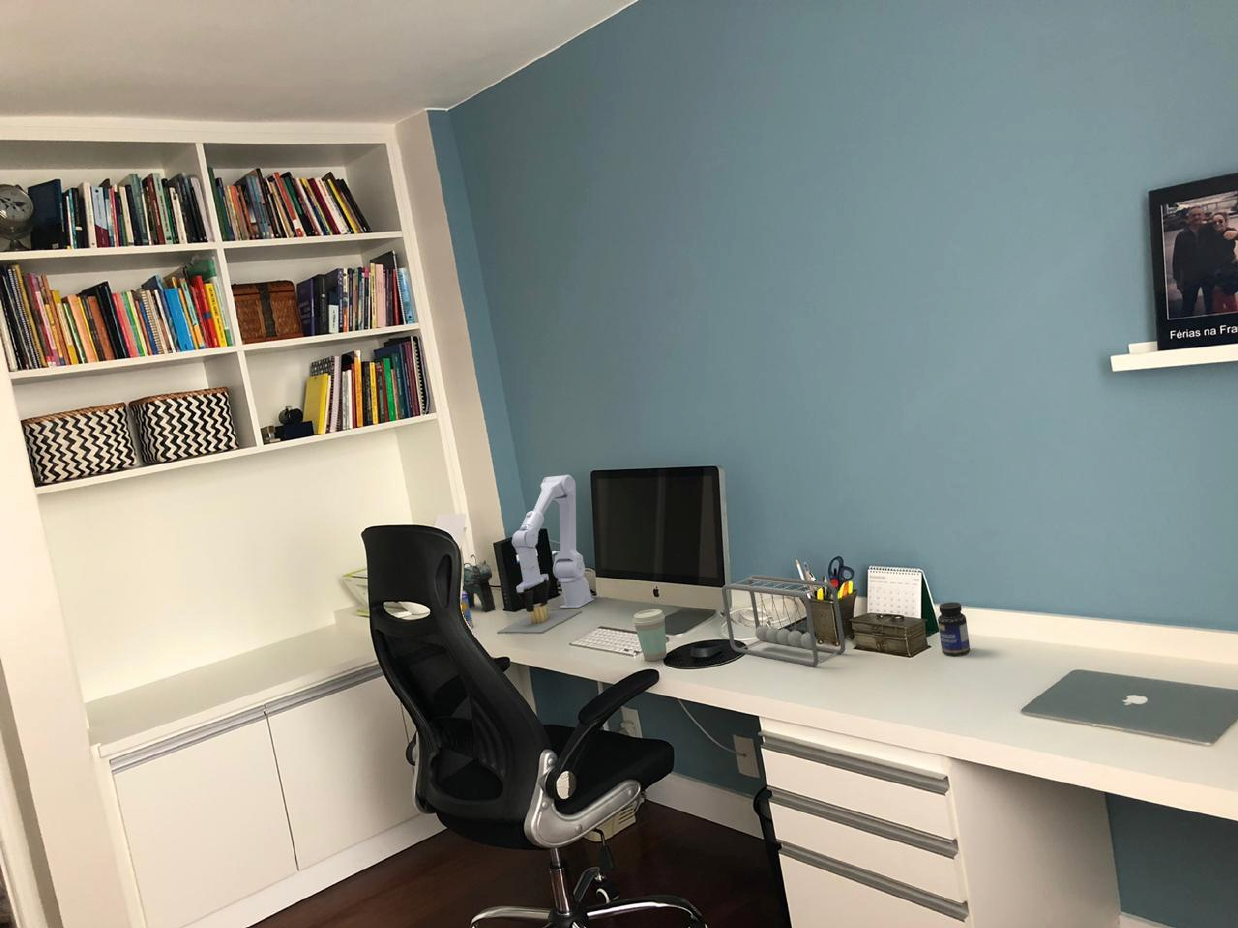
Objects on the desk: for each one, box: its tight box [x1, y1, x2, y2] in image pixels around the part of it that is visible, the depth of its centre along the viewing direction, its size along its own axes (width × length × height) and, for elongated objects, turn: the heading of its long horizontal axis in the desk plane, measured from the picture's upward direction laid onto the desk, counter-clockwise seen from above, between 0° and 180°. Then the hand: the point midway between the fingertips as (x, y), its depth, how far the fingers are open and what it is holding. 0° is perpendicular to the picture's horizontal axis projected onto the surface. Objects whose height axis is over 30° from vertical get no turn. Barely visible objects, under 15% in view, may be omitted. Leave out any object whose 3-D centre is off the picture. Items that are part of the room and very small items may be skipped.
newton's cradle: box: [721, 574, 846, 668], centre depth 245 cm, size 30×10×18 cm, turn 36°
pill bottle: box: [937, 601, 971, 657], centre depth 224 cm, size 6×6×11 cm
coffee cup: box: [632, 608, 667, 662], centre depth 260 cm, size 9×8×12 cm
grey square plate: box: [496, 604, 583, 635], centre depth 319 cm, size 22×18×6 cm
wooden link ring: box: [528, 603, 549, 624], centre depth 319 cm, size 6×6×5 cm
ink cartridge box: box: [461, 591, 474, 629], centre depth 329 cm, size 10×6×14 cm, turn 107°
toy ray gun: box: [463, 554, 496, 613], centre depth 354 cm, size 20×6×20 cm, turn 37°
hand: (537, 607), depth 319 cm, fingers open, 7 cm apart
